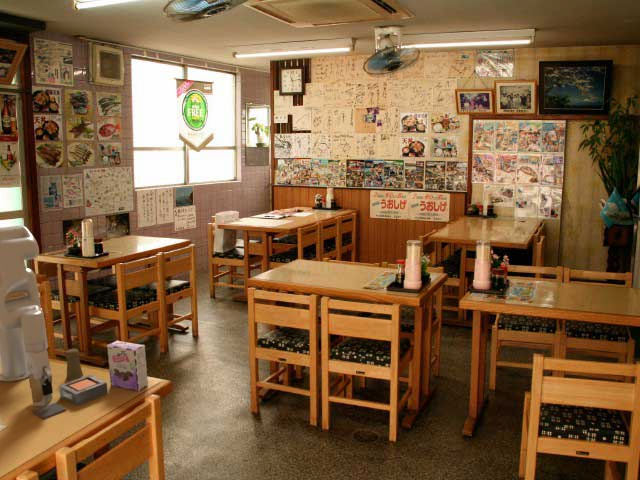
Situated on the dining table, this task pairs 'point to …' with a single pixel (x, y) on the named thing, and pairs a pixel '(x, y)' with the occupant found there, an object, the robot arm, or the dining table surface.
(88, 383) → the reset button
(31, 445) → the dining table surface
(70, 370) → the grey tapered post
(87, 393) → the box
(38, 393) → the skincare box
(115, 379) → the candy box
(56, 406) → the coaster
